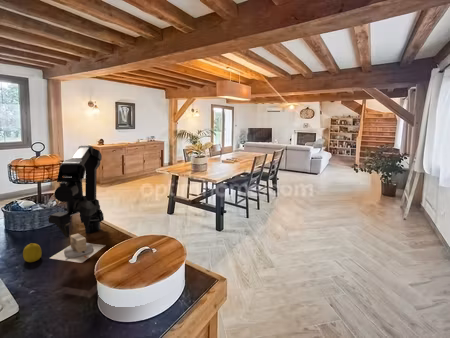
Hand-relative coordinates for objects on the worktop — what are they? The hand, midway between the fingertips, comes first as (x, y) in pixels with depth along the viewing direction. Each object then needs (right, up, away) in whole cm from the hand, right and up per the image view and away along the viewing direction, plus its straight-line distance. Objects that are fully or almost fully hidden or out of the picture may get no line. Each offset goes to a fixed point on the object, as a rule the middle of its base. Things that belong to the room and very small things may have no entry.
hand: (77, 232), depth 101 cm
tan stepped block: (0, -8, +2) cm, 8 cm away
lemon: (-14, -11, -5) cm, 18 cm away
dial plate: (0, -9, +2) cm, 10 cm away
